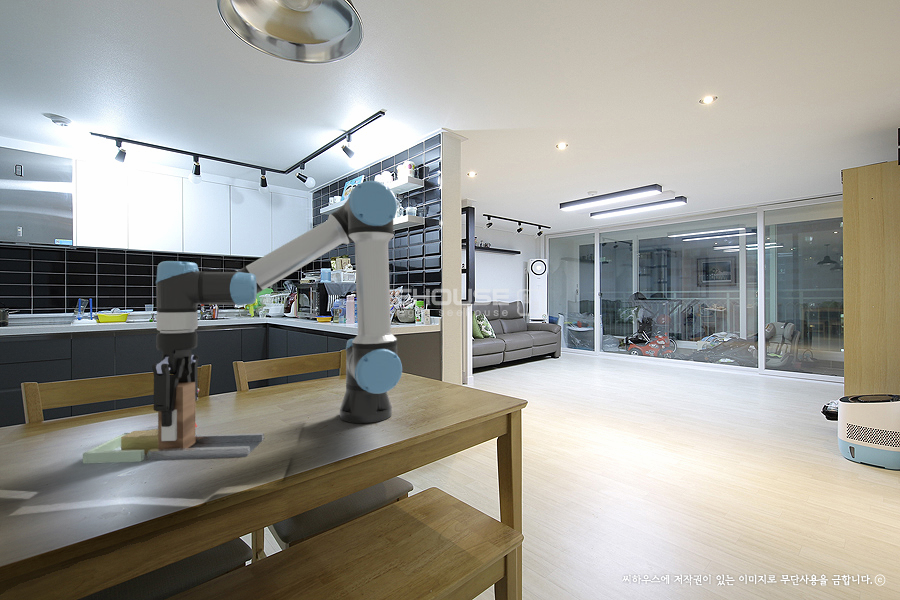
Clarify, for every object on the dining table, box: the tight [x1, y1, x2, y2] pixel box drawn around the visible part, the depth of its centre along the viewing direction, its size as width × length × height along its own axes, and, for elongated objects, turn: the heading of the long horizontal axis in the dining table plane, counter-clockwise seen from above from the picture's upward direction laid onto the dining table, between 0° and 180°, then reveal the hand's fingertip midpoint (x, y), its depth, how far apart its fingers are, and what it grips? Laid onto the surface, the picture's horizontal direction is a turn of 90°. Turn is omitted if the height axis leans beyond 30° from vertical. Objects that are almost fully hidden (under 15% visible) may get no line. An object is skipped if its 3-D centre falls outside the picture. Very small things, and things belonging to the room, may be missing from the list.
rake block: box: [157, 382, 196, 449], centre depth 87 cm, size 5×5×14 cm
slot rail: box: [145, 432, 265, 461], centre depth 88 cm, size 20×11×2 cm, turn 96°
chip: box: [120, 429, 151, 450], centre depth 86 cm, size 4×4×4 cm
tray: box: [82, 432, 145, 464], centre depth 86 cm, size 11×12×3 cm
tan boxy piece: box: [139, 428, 158, 455], centre depth 86 cm, size 4×4×4 cm
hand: (177, 435), depth 87 cm, fingers closed on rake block, 5 cm apart
